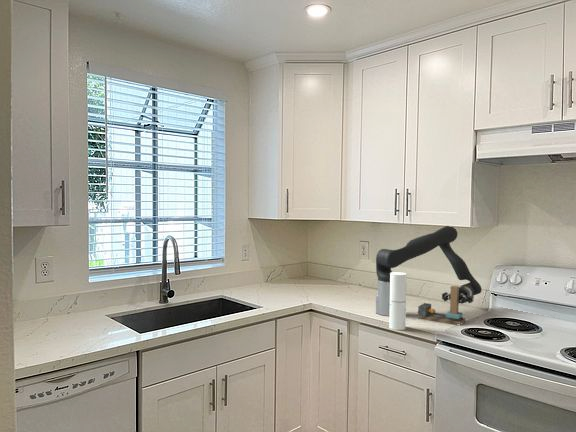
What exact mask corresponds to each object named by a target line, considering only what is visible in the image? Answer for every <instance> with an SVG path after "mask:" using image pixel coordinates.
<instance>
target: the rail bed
mask: <svg viewBox="0 0 576 432" xmlns="http://www.w3.org/2000/svg"><path fill="white" fill-rule="evenodd" d="M428 308H430V309H432V304H431V303H427V302H426V303H425V302H424V303H422V304H420V305H418V307H417V318H418V319H419V320H425V321H432V322H436V323H441V324H449V325H455V326H458V325H457V324H461V323H463V322H464V323H465V322H466V318H464V316H462V317H461V318H459V319H456V318H450V317H446V313H439V312H435V314H430V313H428V312H427V311H428ZM464 323H463V324H464Z"/></svg>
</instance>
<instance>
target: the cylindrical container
mask: <svg viewBox="0 0 576 432" xmlns="http://www.w3.org/2000/svg"><path fill="white" fill-rule="evenodd" d="M406 307H407V273H406V272H402V271H401V272H400V271H399V272H398V271H392V272H391V273H390V315H389V316H388V317H389V318H388V319H389V322H388V323H389V325H388V327H389V329H391V330H394V331H403V330H406V320H407V319H406V317H407V314H406V312H407V311H406V310H407V309H406Z"/></svg>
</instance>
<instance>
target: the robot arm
mask: <svg viewBox="0 0 576 432" xmlns="http://www.w3.org/2000/svg"><path fill="white" fill-rule="evenodd" d="M449 226H450V225H446V226H443V227H441V228H440V229H437V230H436V231H434V232H432V233H428V234H425V235H424V234H423V235H421V236H418V237H415V238H413V239H411V240H409V241H407V243H406V245H404V246H403V247H400V248H397V249H389V248H381V249H379V250H378V251H377V253H376V256H375V266H376V267H375V270H376V276H377V293H376V294H375V295H376V296H375V314H377V315H380V316H384V317H385V316H386V317H389V315H390V273H391V272H393V270H392V269H394V268H397V267H399V266H401V265H402V264H404V263H405V262H407V261H410V260H412V259H416V258H417V257H420V256H421V255H425V254H427V253H429V252H431V251H433V250H434V249H436V248H437V247H439V248H440V249H441V251H442V252H443V254H444V255H445V257H446V259H447V260H448V262H449V263H450V264H451V267H452V269H453V270H454V272H455V275H456V278H457V279H458V280H459V281H468V282H467V283H464V284H462V285H460V286H459V304H461V305H462V304H465V303H468V304H472V303H473V302H475V301H474V296H476V295H479V294H481V293H482V292H483V291H482V290H483V289H482V286H481V284H480V283H479V282H478V280H477V279H476V278H475V277H474V276H473V275H472V273H471V271H470V269H469V267H468V265H467V264H466V262H465V260H464V259H463V258H462V257H460V256H459V255H458V253H456V252H455V251H454V249H453V248H452V246H451V243H453V242H454V241H456V239H457V237H458V231H457V229H456V228H455V227H453V226H452V227H449ZM450 297H451V292H447V291H446V292H443V293H442V294H441V299H442V300H443V301H444V302H447V301H450Z"/></svg>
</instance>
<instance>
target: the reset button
mask: <svg viewBox="0 0 576 432" xmlns="http://www.w3.org/2000/svg"><path fill="white" fill-rule="evenodd" d="M427 312H428V313H430V314H435V313H436V309H435V308H431V309H430V308H428V311H427Z"/></svg>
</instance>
